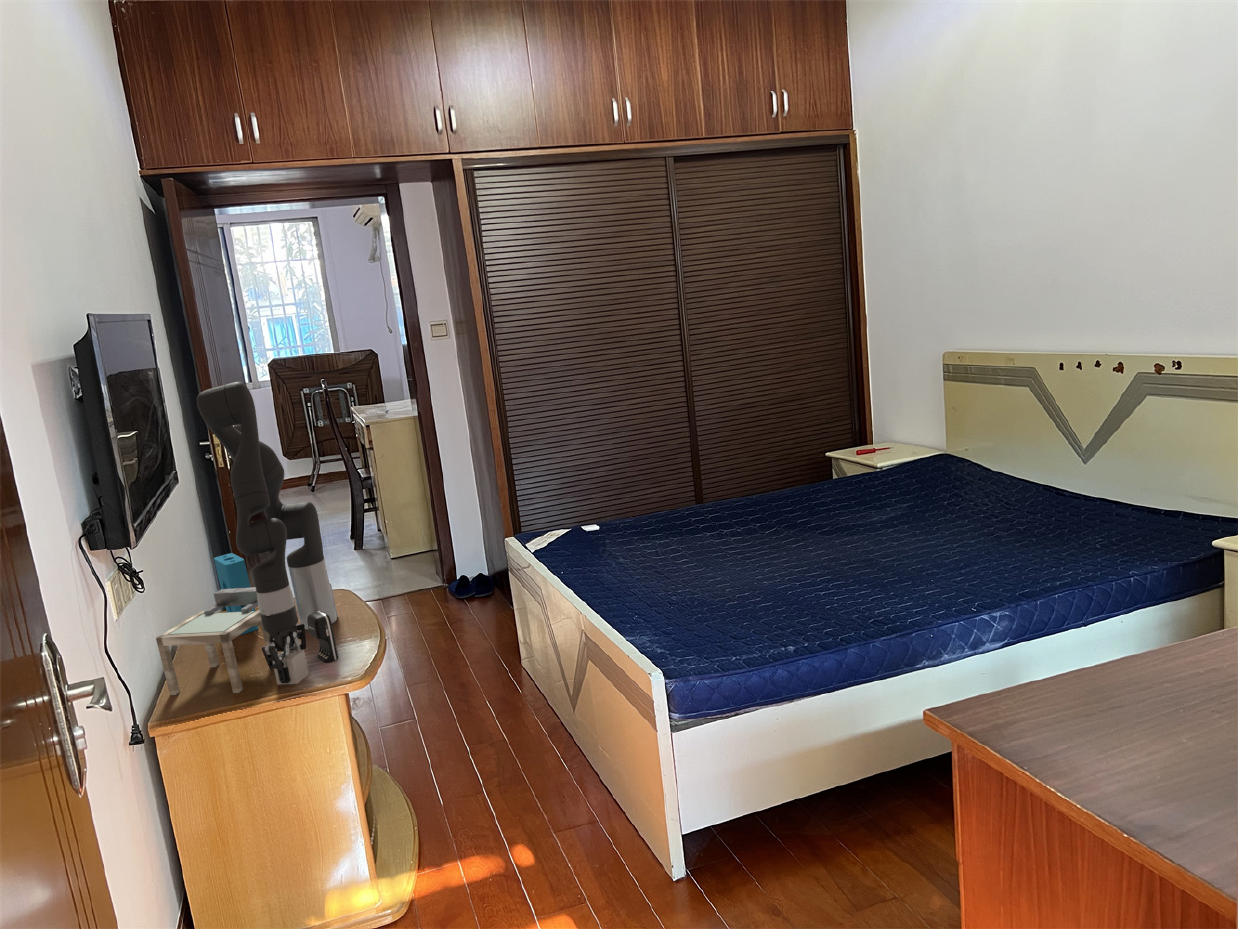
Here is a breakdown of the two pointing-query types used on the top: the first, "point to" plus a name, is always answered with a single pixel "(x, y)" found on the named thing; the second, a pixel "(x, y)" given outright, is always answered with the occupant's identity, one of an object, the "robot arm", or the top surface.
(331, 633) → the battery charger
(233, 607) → the block
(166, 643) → the trapdoor frame
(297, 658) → the stone block
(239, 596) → the trapdoor
